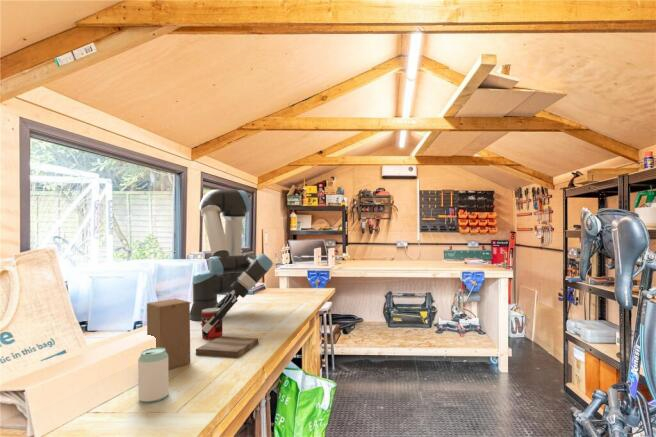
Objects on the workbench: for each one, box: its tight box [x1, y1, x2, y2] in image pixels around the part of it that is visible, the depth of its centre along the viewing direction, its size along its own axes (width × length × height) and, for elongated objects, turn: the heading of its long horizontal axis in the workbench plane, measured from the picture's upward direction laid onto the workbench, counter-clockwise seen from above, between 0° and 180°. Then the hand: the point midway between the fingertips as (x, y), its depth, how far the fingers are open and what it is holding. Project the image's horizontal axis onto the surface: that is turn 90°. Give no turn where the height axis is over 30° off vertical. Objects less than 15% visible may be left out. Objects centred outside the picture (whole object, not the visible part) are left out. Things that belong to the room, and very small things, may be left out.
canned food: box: [201, 308, 224, 340], centre depth 152 cm, size 8×8×11 cm
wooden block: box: [146, 298, 191, 370], centre depth 121 cm, size 10×10×20 cm
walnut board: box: [195, 335, 259, 359], centre depth 135 cm, size 16×16×2 cm
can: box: [137, 348, 170, 404], centre depth 96 cm, size 7×7×12 cm
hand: (203, 328), depth 151 cm, fingers closed on canned food, 8 cm apart
